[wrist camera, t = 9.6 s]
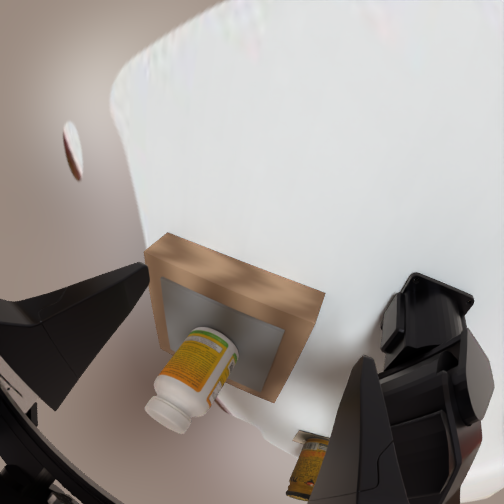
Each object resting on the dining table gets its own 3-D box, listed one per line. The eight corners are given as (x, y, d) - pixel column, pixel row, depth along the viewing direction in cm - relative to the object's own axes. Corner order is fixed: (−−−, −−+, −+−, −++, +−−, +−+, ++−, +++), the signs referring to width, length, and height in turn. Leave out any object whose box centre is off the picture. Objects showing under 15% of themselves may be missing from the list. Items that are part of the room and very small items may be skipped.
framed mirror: (325, 293, 23) (314, 326, 20) (284, 379, 33) (273, 405, 30) (167, 232, 27) (141, 253, 24) (175, 329, 37) (159, 350, 34)
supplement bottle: (183, 326, 28) (127, 397, 20) (220, 322, 25) (160, 409, 17) (211, 361, 29) (165, 431, 22) (249, 361, 26) (203, 444, 19)
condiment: (333, 451, 42) (313, 504, 33) (292, 439, 45) (268, 491, 35) (345, 441, 38) (324, 501, 29) (299, 428, 40) (273, 488, 31)
